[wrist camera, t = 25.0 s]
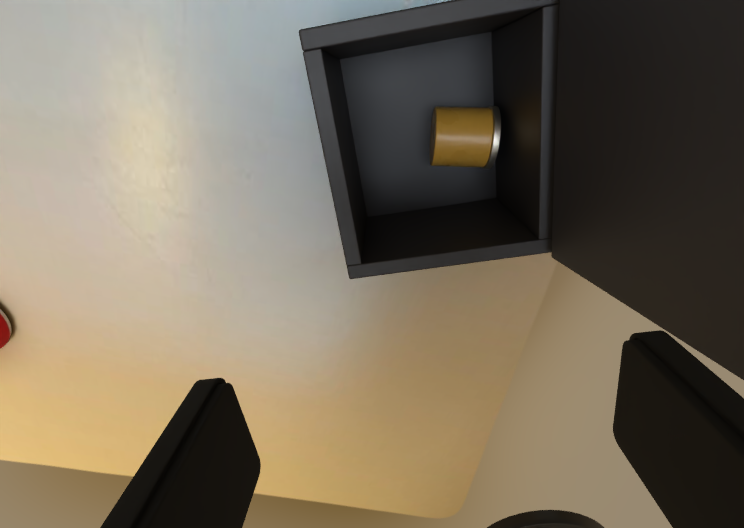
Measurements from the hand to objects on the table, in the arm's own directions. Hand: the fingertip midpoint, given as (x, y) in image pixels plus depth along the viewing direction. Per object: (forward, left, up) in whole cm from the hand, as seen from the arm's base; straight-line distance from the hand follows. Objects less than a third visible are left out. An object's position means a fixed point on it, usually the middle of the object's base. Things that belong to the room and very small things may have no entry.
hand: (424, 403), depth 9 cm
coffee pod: (-3, -4, -18) cm, 18 cm away
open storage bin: (-2, -4, -20) cm, 21 cm away
